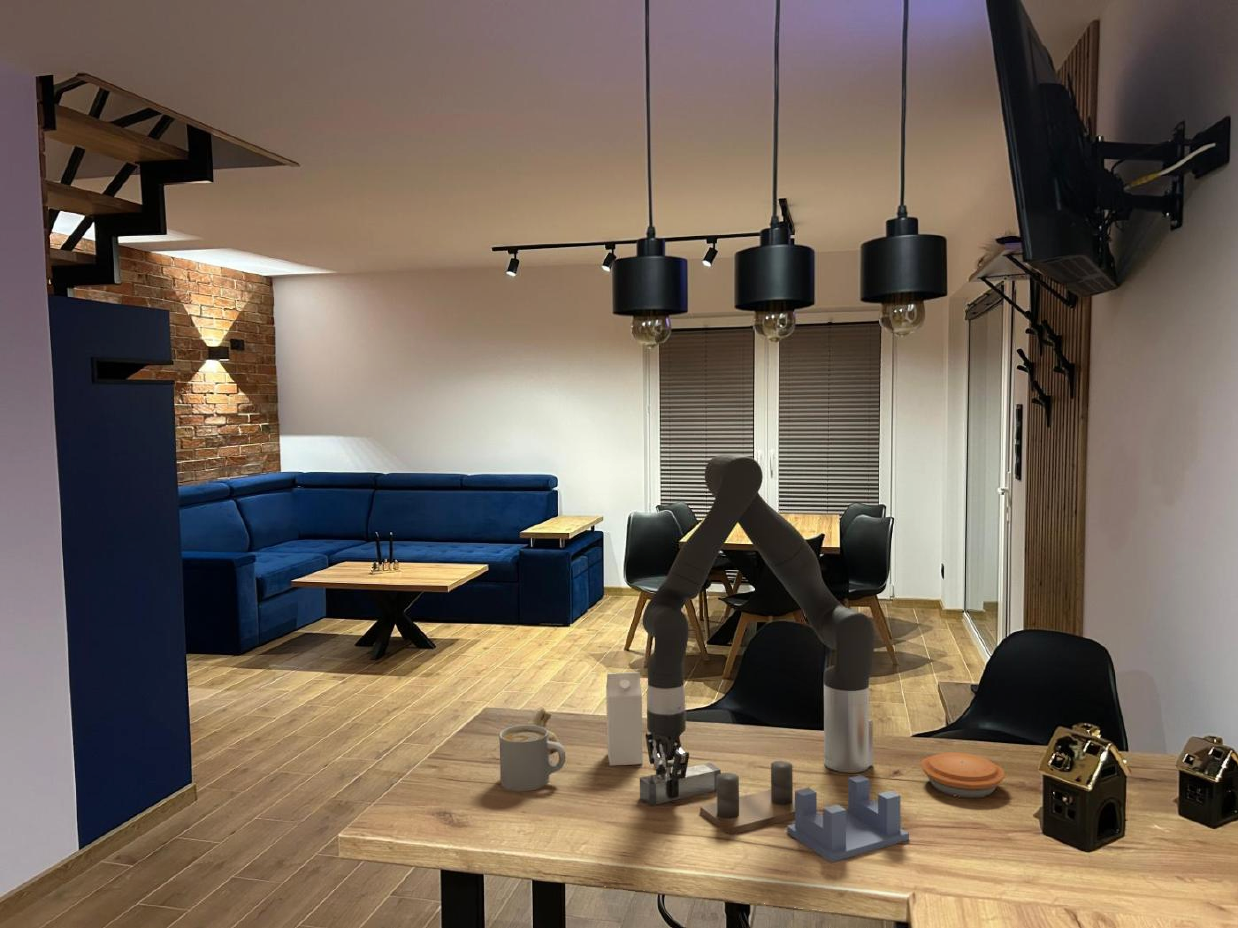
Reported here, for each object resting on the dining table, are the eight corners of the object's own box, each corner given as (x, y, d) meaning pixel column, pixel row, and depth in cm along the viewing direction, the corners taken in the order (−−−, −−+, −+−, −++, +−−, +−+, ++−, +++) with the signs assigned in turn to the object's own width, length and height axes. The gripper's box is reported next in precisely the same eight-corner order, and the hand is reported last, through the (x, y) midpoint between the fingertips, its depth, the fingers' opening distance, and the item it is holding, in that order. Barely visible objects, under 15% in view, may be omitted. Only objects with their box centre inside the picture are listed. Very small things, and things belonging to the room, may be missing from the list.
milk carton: (607, 753, 194) (605, 668, 193) (639, 752, 195) (638, 667, 194) (609, 766, 187) (608, 678, 186) (642, 764, 187) (641, 676, 187)
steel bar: (710, 781, 178) (710, 762, 178) (720, 789, 174) (720, 769, 174) (639, 797, 171) (639, 777, 171) (649, 805, 167) (649, 785, 167)
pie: (981, 810, 163) (981, 784, 163) (906, 785, 175) (905, 761, 175) (1018, 787, 173) (1019, 762, 173) (945, 764, 185) (945, 741, 185)
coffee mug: (491, 787, 177) (490, 738, 176) (513, 768, 186) (512, 722, 186) (552, 796, 172) (551, 746, 172) (572, 776, 182) (571, 729, 181)
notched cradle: (861, 812, 163) (861, 771, 163) (909, 839, 152) (909, 796, 152) (787, 832, 156) (786, 789, 155) (831, 862, 145) (830, 816, 144)
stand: (779, 793, 172) (778, 753, 172) (811, 813, 163) (811, 771, 163) (700, 812, 164) (699, 770, 164) (729, 834, 155) (728, 790, 155)
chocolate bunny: (525, 747, 199) (524, 703, 198) (560, 745, 200) (559, 702, 199) (525, 756, 193) (524, 711, 193) (561, 754, 194) (560, 710, 194)
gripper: (701, 714, 166) (702, 803, 167) (665, 693, 179) (666, 776, 179) (666, 720, 162) (668, 811, 163) (632, 699, 175) (633, 783, 176)
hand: (667, 792), depth 171 cm, fingers closed on steel bar, 4 cm apart
